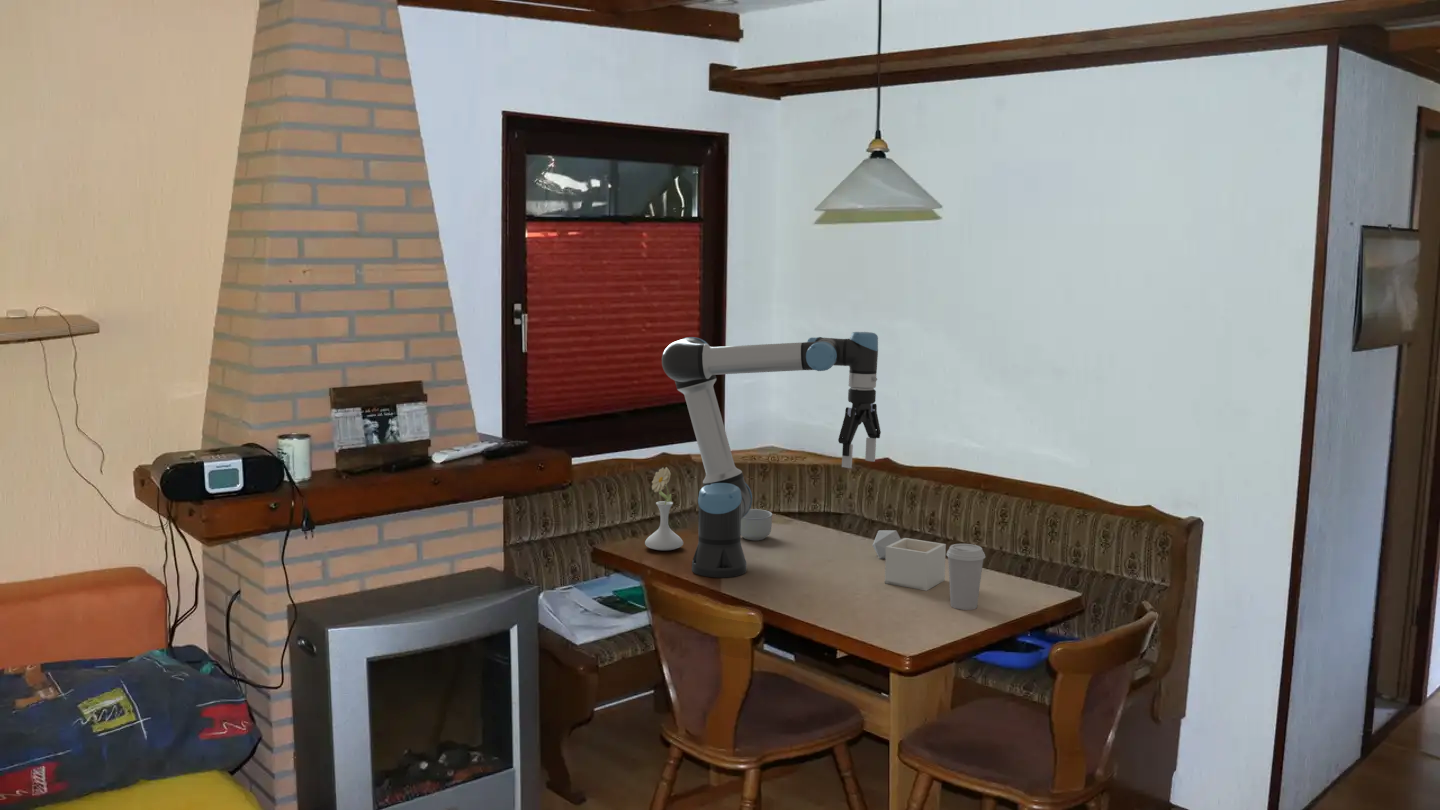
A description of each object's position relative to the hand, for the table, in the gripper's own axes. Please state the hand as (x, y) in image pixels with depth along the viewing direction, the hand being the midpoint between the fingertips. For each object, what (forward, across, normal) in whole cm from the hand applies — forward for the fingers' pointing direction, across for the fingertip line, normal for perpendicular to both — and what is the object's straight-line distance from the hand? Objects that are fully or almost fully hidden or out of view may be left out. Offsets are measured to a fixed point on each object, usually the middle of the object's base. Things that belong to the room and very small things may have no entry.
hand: (858, 464), depth 326 cm
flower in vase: (+30, -17, +54) cm, 64 cm away
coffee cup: (+29, -16, -40) cm, 52 cm away
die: (+29, +14, -3) cm, 33 cm away
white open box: (+29, -4, -21) cm, 36 cm away
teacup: (+30, +10, +42) cm, 52 cm away
